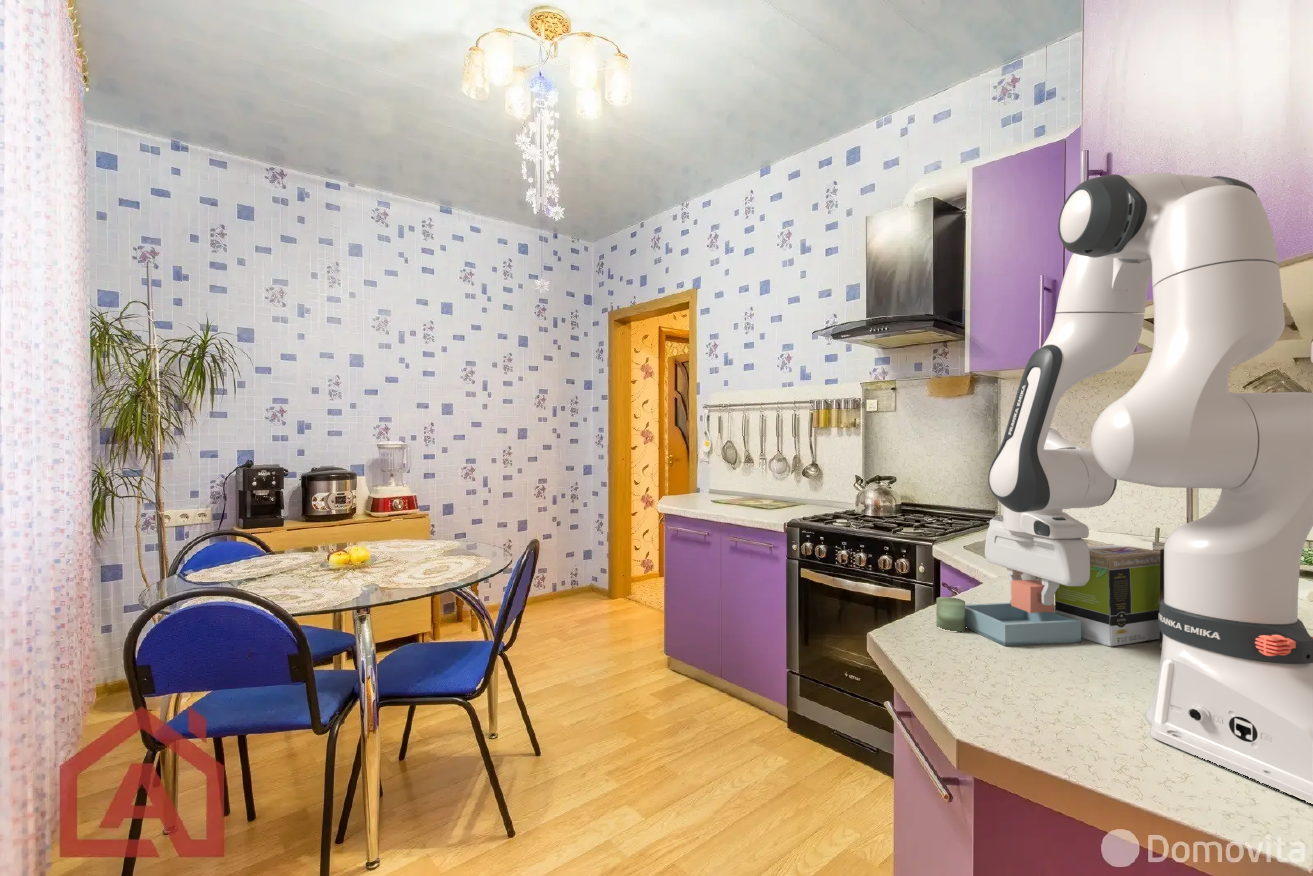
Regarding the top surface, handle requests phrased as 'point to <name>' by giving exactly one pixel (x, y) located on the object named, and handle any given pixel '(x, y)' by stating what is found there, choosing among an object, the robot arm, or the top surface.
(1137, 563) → the tea box
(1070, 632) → the bin
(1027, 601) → the red block
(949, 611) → the green cylinder
